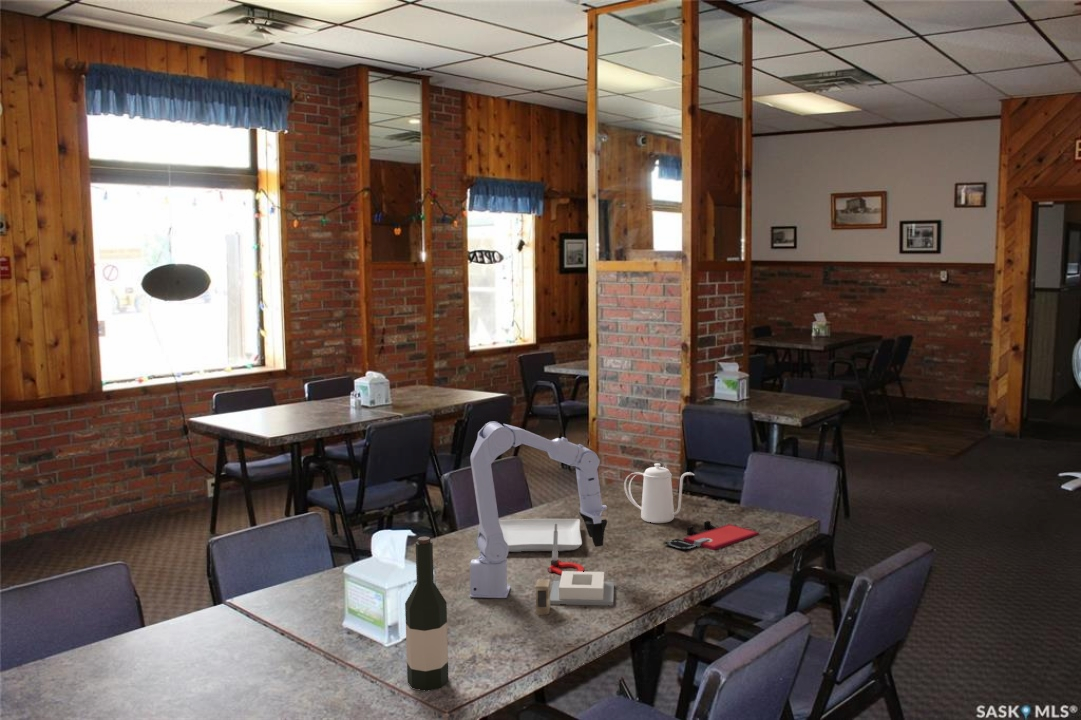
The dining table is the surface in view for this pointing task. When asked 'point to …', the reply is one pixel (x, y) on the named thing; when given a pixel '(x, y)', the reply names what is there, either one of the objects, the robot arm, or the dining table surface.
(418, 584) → the wine bottle
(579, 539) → the square plate
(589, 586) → the slotted block
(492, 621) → the dining table surface
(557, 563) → the tow hook
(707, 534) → the red board with handle
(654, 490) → the coffeepot
